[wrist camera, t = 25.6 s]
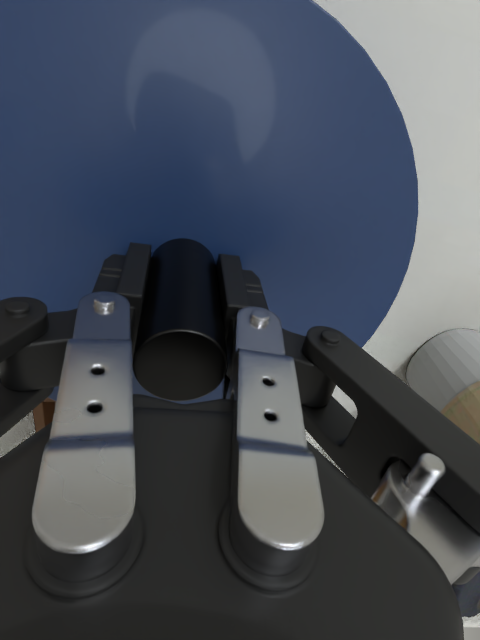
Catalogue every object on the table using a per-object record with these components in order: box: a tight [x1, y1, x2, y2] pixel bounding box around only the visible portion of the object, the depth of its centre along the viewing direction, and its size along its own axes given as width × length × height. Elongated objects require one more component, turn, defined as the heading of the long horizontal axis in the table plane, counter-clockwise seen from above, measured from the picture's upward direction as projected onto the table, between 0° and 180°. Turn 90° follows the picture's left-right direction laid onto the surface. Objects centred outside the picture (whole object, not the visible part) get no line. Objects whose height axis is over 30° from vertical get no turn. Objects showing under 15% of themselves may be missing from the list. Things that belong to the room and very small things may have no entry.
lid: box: [0, 0, 418, 404], centre depth 13 cm, size 17×17×7 cm
